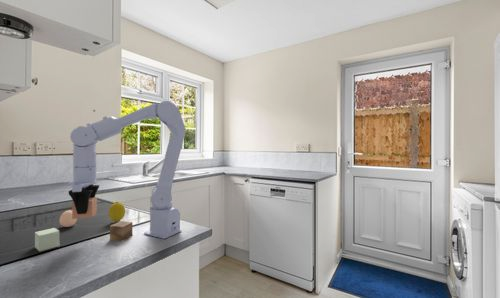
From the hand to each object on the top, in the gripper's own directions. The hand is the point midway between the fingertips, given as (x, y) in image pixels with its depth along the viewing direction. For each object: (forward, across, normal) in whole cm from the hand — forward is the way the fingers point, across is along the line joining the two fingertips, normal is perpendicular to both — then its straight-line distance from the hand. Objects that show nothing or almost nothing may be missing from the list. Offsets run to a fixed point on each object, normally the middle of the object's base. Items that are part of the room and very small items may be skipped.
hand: (85, 211), depth 72 cm
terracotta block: (+1, 0, 0) cm, 1 cm away
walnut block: (+10, 0, +10) cm, 14 cm away
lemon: (+10, -17, +6) cm, 20 cm away
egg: (+10, -17, -10) cm, 22 cm away
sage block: (+10, +1, -9) cm, 13 cm away
